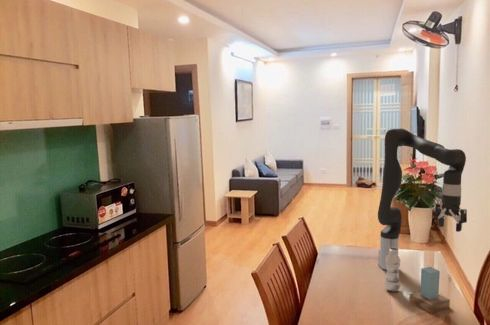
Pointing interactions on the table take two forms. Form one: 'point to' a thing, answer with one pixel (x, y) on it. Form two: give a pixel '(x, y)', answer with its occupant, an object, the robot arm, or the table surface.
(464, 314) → the table surface
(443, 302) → the walnut block
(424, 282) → the blue block
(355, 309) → the table surface
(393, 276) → the plastic bottle
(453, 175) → the robot arm
